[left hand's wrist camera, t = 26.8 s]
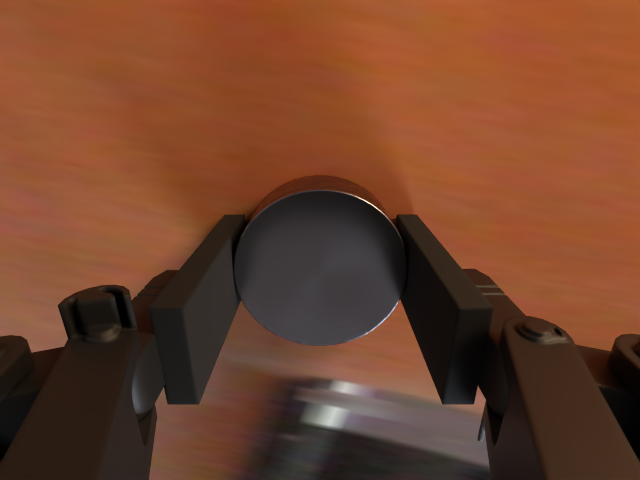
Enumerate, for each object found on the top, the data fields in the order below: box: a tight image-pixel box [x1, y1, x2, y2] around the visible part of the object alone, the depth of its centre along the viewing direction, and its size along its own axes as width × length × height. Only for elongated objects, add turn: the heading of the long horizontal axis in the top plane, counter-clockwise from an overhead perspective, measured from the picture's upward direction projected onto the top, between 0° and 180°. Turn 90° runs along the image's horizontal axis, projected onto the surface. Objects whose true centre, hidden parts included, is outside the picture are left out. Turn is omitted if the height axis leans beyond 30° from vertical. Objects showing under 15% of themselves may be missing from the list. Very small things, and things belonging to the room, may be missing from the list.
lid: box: [234, 175, 408, 346], centre depth 13 cm, size 6×6×2 cm
